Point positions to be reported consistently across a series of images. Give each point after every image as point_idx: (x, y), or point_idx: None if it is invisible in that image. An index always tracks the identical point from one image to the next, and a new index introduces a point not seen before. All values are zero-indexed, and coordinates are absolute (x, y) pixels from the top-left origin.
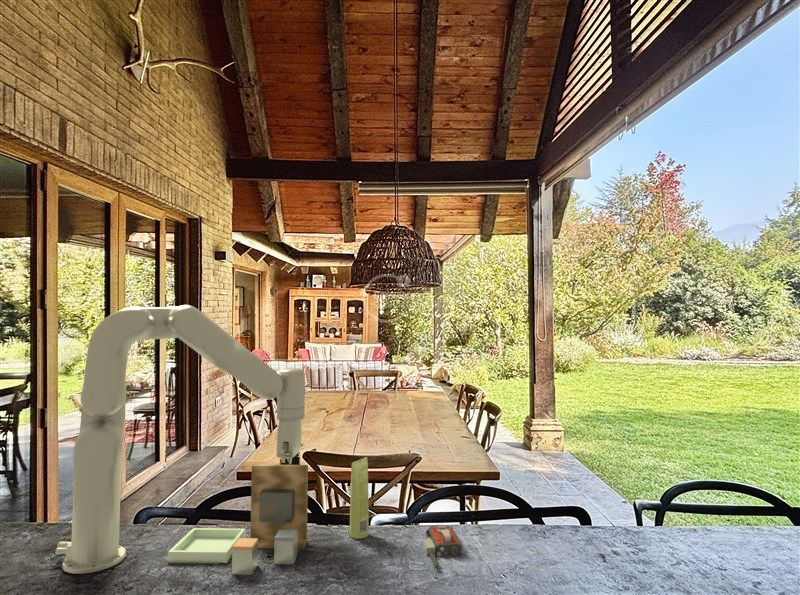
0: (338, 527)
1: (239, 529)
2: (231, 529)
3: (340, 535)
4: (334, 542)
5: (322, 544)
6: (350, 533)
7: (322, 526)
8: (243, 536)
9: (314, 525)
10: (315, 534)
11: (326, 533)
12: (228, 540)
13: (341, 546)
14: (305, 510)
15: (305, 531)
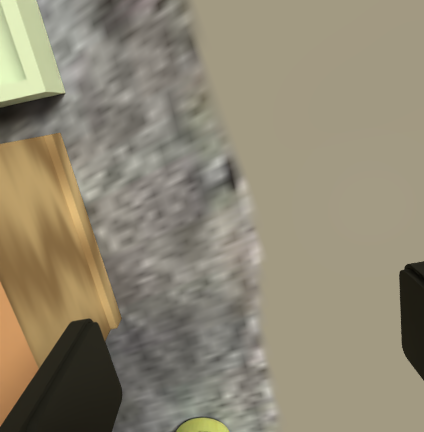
0: (251, 370)
1: (26, 66)
2: (11, 24)
3: (191, 392)
4: (138, 390)
5: (114, 365)
6: (183, 430)
7: (249, 322)
8: (29, 98)
9: (253, 294)
10: (179, 323)
11: (195, 351)
12: (1, 37)
13: (119, 413)
14: None
15: None
